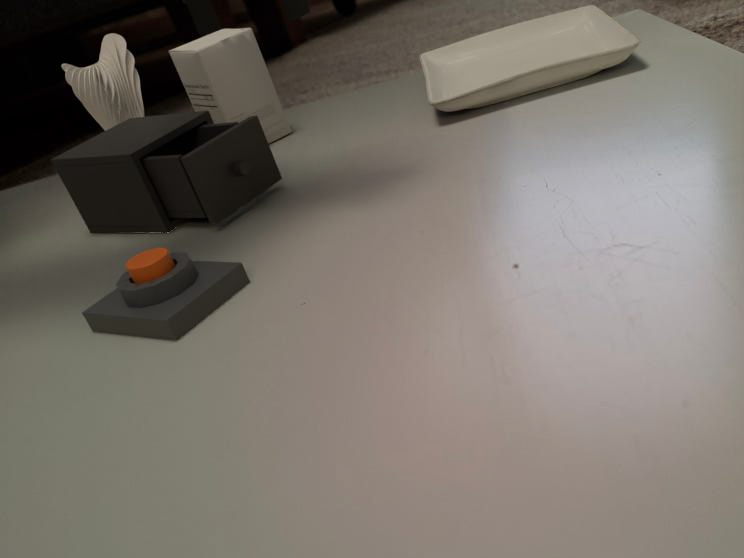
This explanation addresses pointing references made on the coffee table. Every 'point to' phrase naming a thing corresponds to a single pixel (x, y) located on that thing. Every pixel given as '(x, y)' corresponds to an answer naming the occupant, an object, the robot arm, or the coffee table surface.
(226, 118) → the rectangular carton
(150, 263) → the button
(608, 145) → the coffee table surface
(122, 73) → the shell sculpture
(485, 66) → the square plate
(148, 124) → the grey drawer box
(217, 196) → the pull-out drawer with knob
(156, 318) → the control block
